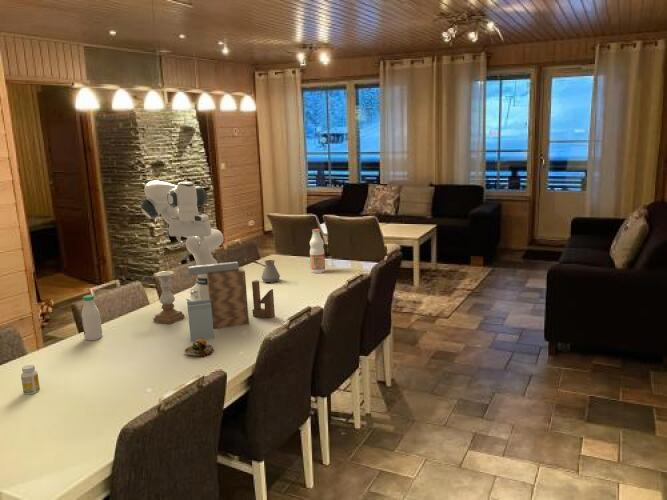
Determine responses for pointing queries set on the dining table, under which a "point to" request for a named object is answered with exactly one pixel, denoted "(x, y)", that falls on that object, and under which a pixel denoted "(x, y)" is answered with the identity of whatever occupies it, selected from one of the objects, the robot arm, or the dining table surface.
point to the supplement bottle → (30, 380)
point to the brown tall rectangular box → (228, 298)
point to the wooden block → (262, 302)
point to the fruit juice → (317, 253)
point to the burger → (200, 349)
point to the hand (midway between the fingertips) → (190, 245)
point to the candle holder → (167, 300)
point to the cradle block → (200, 319)
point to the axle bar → (213, 268)
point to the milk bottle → (91, 319)
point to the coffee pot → (268, 271)
